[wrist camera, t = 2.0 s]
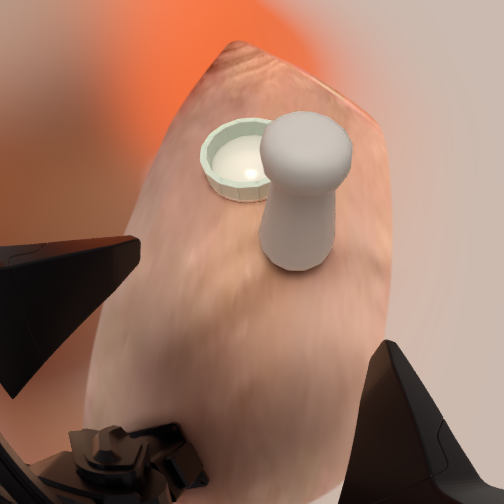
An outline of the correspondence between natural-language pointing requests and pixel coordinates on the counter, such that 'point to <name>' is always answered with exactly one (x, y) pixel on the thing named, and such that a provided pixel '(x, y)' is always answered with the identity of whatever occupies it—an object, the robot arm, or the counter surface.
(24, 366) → the robot arm
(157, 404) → the counter surface
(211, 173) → the pale green shallow dish
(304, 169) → the salt shaker
